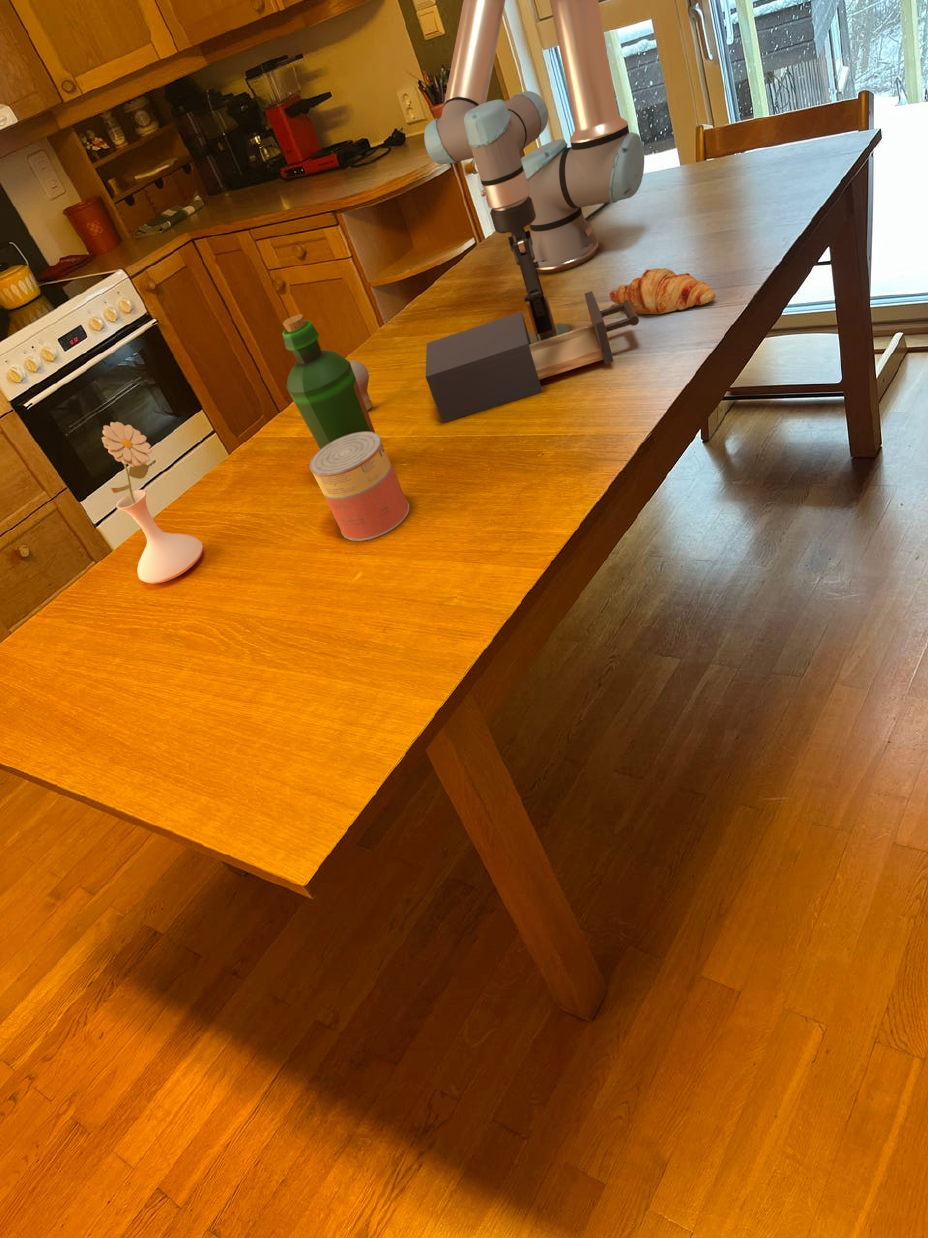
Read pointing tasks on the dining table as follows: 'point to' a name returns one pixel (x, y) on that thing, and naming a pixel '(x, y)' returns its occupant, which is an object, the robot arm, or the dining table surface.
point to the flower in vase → (163, 550)
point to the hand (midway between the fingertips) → (542, 317)
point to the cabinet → (481, 368)
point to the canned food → (360, 486)
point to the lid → (557, 330)
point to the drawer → (580, 341)
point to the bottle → (323, 386)
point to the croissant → (663, 292)
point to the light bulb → (362, 381)
